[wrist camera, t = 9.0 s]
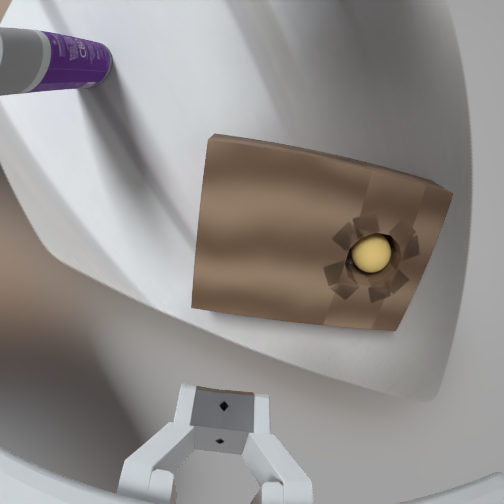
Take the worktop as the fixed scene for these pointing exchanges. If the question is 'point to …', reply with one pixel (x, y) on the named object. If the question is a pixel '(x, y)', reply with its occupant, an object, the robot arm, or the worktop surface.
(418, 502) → the robot arm
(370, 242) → the ball
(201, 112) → the worktop surface
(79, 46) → the container
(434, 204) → the board
